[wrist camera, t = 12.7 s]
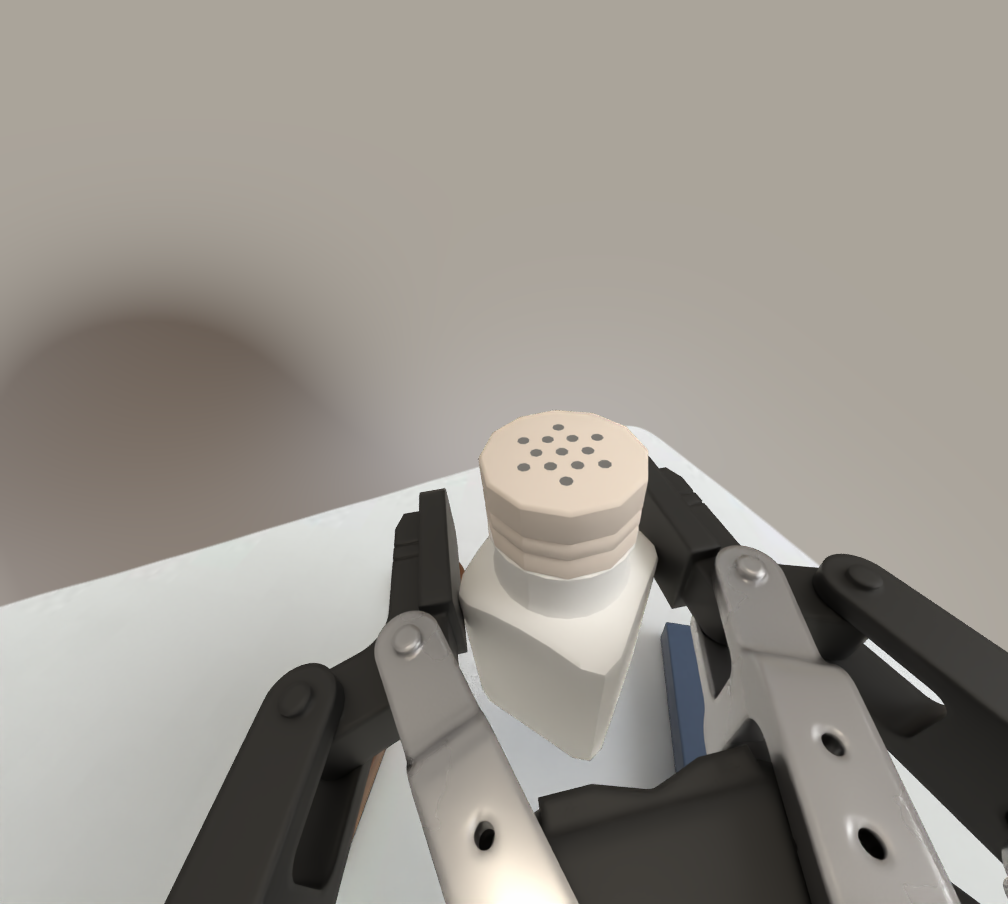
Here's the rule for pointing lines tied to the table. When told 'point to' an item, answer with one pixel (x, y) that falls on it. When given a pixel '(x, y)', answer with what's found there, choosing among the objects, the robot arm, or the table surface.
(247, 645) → the table surface
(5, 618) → the table surface
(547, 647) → the salt shaker
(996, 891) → the table surface
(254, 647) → the table surface
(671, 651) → the blue stick
